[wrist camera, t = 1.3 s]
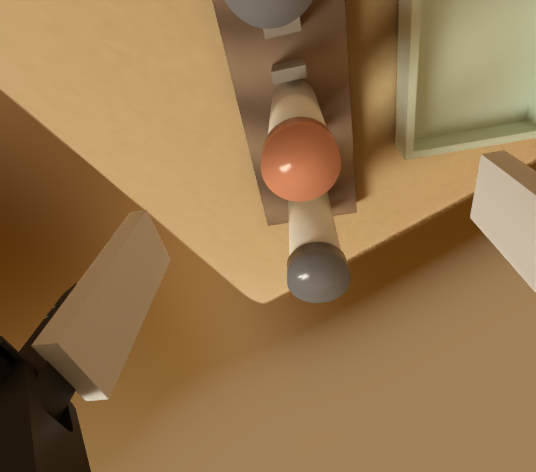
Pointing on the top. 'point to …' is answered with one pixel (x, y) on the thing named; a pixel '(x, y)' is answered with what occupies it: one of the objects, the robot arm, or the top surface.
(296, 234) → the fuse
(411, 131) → the tray
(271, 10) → the fuse
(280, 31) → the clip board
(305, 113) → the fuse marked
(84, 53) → the top surface
